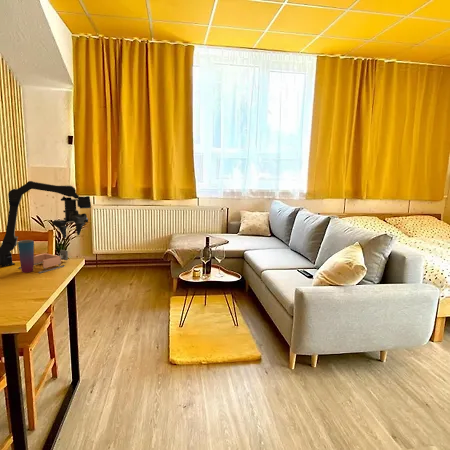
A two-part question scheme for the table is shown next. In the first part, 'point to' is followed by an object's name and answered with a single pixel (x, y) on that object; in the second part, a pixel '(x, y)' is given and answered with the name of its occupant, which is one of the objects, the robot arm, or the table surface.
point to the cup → (26, 255)
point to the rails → (48, 269)
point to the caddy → (51, 259)
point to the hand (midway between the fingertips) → (71, 236)
